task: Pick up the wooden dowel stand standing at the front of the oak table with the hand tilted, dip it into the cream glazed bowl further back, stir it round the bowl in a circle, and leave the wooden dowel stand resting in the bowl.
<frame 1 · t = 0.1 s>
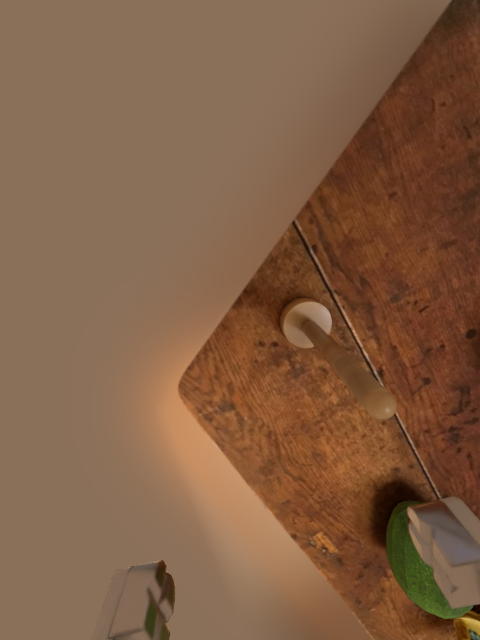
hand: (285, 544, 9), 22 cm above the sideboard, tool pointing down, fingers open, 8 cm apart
wooden dowel stand: (302, 319, 30), on the sideboard
shrine: (456, 613, 47), on the sideboard
fruit: (402, 514, 40), on the sideboard
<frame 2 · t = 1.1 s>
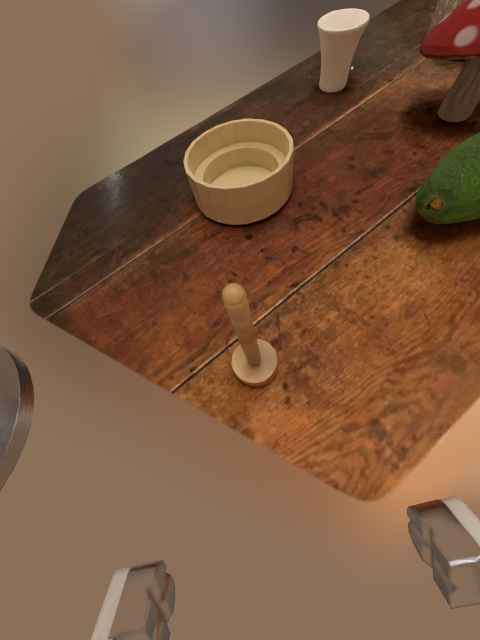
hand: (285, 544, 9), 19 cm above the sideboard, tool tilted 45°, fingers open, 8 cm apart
planter: (466, 43, 56), on the sideboard
wooden dowel stand: (255, 365, 31), on the sideboard
decorative mushroom: (446, 115, 47), on the sideboard
mixing bowl: (243, 192, 45), on the sideboard
cup: (334, 87, 56), on the sideboard
fruit: (451, 212, 37), on the sideboard
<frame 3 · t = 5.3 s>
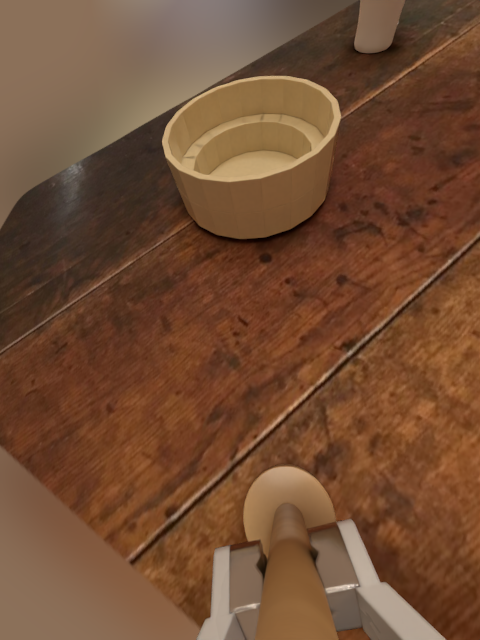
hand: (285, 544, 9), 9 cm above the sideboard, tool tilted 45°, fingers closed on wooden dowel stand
wooden dowel stand: (288, 511, 17), on the sideboard, touching gripper
mixing bowl: (254, 188, 30), on the sideboard
cup: (374, 46, 41), on the sideboard
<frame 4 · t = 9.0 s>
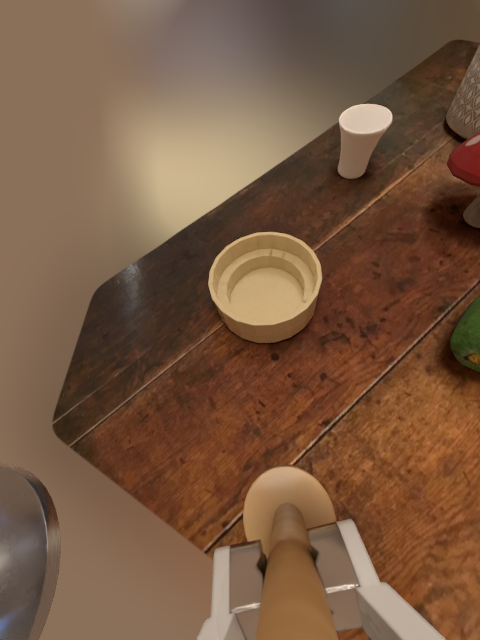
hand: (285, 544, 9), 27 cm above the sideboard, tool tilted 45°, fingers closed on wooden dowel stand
wooden dowel stand: (288, 511, 17), point 18 cm above the sideboard, touching gripper
decorative mushroom: (472, 216, 46), on the sideboard
mixing bowl: (266, 299, 44), on the sideboard
cup: (353, 171, 55), on the sideboard
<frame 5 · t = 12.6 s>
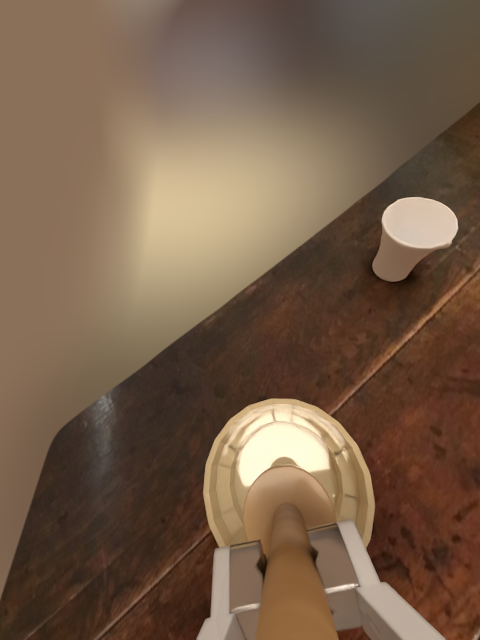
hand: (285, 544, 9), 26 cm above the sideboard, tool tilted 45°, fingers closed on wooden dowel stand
wooden dowel stand: (288, 511, 17), point 17 cm above the sideboard, touching gripper
mixing bowl: (284, 477, 32), on the sideboard
cup: (392, 268, 43), on the sideboard
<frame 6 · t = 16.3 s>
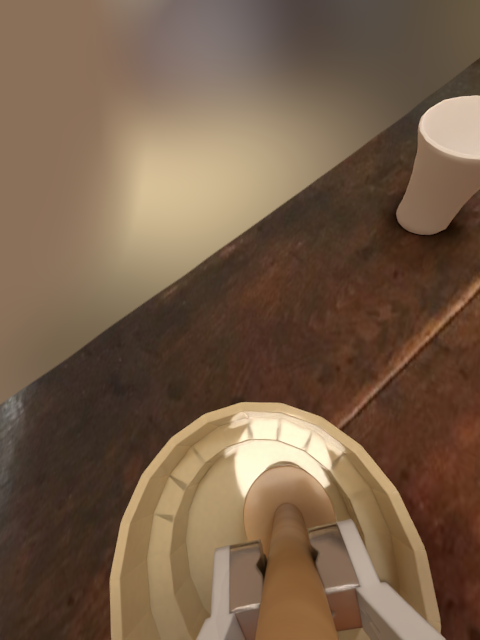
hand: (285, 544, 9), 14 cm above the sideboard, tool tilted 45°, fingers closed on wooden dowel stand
wooden dowel stand: (288, 511, 17), point 4 cm above the sideboard, touching gripper
mixing bowl: (267, 530, 20), on the sideboard
cup: (424, 218, 31), on the sideboard
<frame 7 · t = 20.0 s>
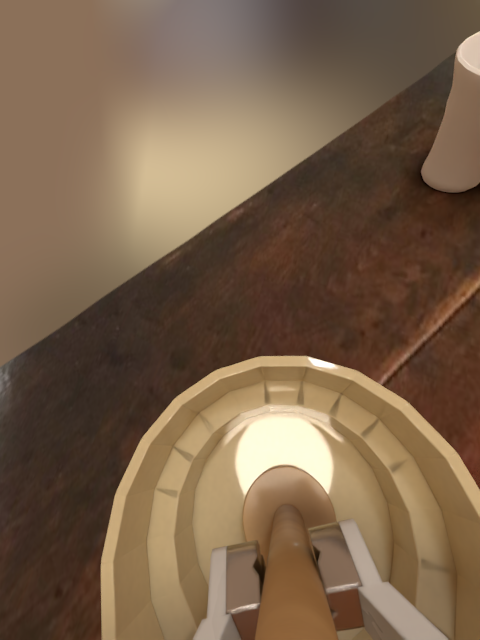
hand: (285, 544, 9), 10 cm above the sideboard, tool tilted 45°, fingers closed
wooden dowel stand: (287, 512, 16), point 1 cm above the sideboard, touching mixing bowl
mixing bowl: (286, 511, 17), on the sideboard
cup: (452, 176, 28), on the sideboard
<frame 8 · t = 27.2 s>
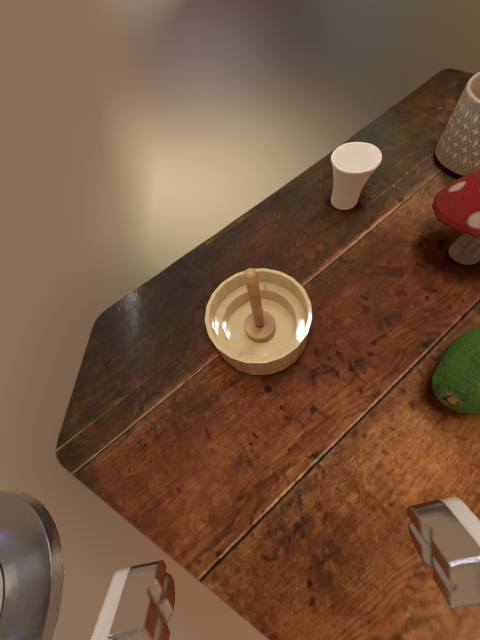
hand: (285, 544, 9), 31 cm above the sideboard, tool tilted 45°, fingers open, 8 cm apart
planter: (474, 159, 57), on the sideboard
wooden dowel stand: (260, 328, 46), point 1 cm above the sideboard, touching mixing bowl
decorative mushroom: (457, 251, 48), on the sideboard
mixing bowl: (260, 330, 47), on the sideboard
cup: (345, 202, 57), on the sideboard
fruit: (465, 377, 39), on the sideboard
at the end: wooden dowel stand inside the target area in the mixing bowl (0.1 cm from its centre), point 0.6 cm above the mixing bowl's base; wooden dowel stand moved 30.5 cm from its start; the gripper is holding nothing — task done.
